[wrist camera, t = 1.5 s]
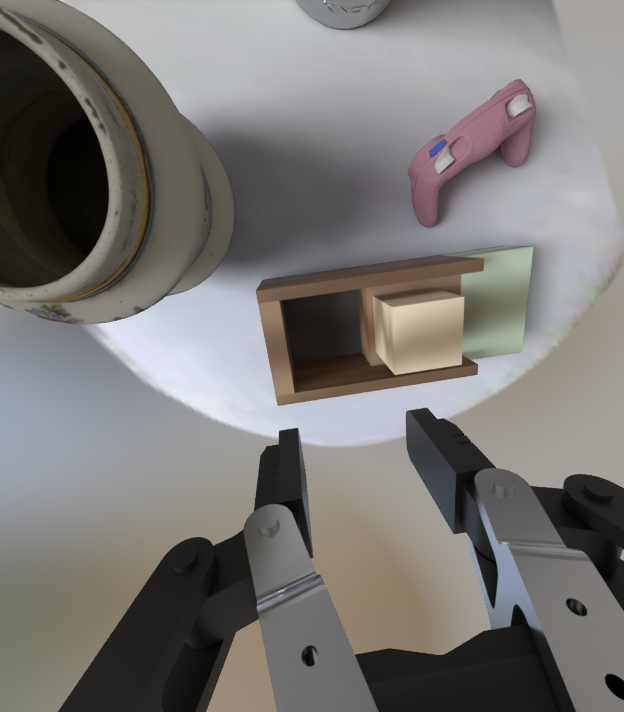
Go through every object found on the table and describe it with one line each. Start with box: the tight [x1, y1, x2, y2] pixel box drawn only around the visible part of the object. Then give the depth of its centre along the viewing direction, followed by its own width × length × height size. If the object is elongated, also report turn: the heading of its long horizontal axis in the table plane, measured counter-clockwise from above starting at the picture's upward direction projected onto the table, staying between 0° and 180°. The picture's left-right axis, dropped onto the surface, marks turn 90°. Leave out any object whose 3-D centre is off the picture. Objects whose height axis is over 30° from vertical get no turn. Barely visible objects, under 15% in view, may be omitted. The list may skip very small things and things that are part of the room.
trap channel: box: [256, 246, 534, 406], centre depth 27 cm, size 9×22×7 cm, turn 97°
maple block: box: [373, 287, 464, 375], centre depth 24 cm, size 5×5×5 cm
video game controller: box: [408, 79, 536, 228], centre depth 24 cm, size 10×5×7 cm, turn 125°
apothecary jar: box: [0, 0, 234, 324], centre depth 17 cm, size 12×12×18 cm
